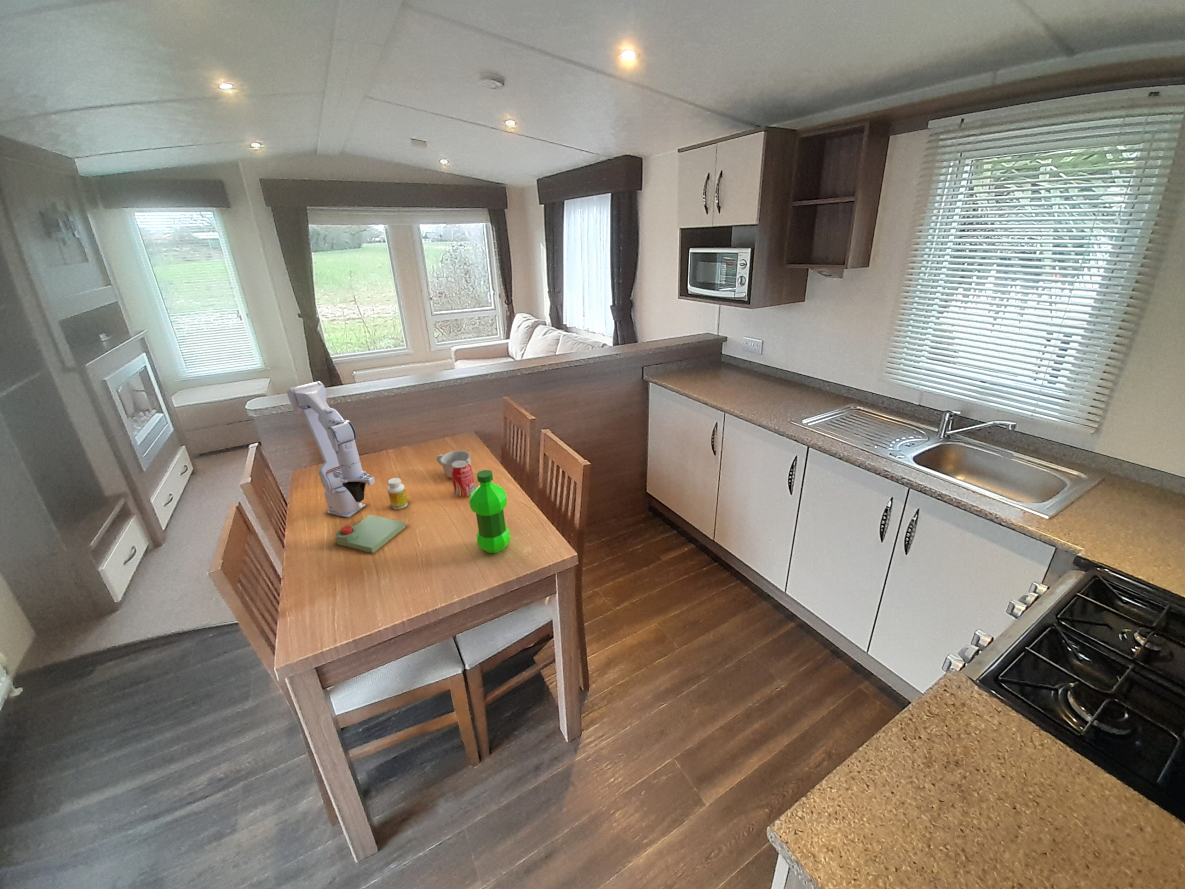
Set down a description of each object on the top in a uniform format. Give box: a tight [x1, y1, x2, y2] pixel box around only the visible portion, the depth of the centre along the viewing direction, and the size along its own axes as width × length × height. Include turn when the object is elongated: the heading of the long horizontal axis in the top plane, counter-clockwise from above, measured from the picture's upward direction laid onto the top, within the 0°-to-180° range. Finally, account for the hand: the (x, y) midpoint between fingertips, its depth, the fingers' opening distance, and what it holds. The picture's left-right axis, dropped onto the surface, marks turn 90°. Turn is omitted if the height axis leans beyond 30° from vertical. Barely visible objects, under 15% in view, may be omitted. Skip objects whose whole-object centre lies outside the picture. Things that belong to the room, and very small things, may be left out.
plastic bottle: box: [468, 469, 511, 554], centre depth 135 cm, size 10×10×25 cm
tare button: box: [340, 525, 353, 535], centre depth 144 cm, size 3×3×2 cm
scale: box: [335, 514, 406, 554], centre depth 147 cm, size 14×14×4 cm
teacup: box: [436, 450, 472, 479], centre depth 182 cm, size 14×11×8 cm
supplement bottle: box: [387, 477, 409, 510], centre depth 162 cm, size 5×5×10 cm
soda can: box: [451, 460, 475, 498], centre depth 167 cm, size 7×7×12 cm
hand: (360, 500), depth 148 cm, fingers closed
